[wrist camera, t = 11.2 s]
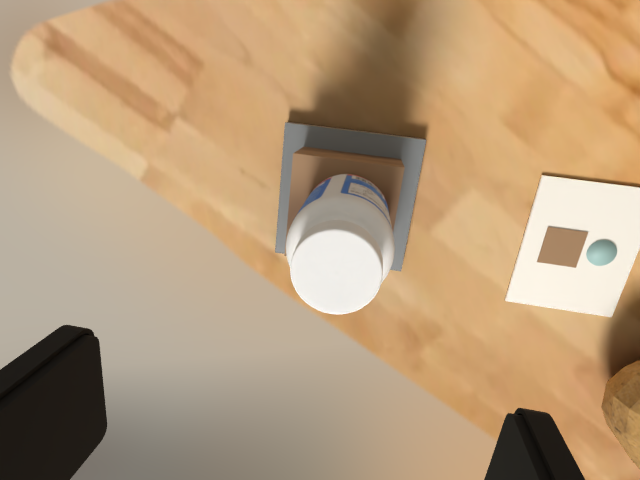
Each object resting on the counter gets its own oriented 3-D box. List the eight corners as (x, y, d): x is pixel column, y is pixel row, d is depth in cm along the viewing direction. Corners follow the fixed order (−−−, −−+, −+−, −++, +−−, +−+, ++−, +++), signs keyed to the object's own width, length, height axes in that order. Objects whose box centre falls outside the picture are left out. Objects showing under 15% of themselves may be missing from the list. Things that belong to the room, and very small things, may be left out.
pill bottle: (315, 258, 28) (286, 336, 18) (297, 181, 26) (255, 225, 17) (396, 245, 27) (406, 321, 17) (382, 164, 25) (386, 201, 16)
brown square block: (303, 146, 29) (293, 153, 26) (400, 158, 29) (404, 167, 25) (295, 237, 32) (284, 255, 28) (384, 250, 31) (386, 271, 27)
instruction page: (541, 174, 29) (542, 175, 28) (660, 190, 28) (663, 191, 28) (504, 299, 32) (505, 301, 32) (610, 315, 31) (612, 318, 31)
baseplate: (287, 121, 30) (285, 122, 29) (424, 138, 29) (426, 139, 28) (278, 248, 33) (275, 252, 32) (400, 266, 32) (401, 271, 31)
